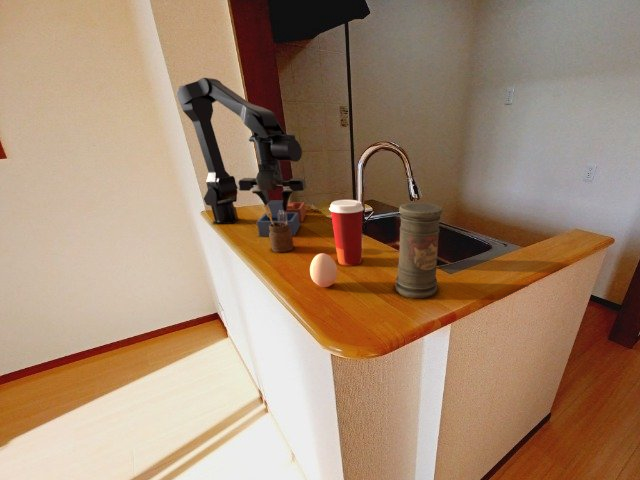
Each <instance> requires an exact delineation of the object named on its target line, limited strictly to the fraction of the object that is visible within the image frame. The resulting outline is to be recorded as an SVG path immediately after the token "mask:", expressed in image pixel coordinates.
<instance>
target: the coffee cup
mask: <svg viewBox="0 0 640 480" xmlns="http://www.w3.org/2000/svg"><path fill="white" fill-rule="evenodd" d="M329 206H330V207H328V210H329V211H330V215H331V223H332V228H333V235H334V243H335V251H336V255H337V257H336V258H337V261H338V264H339V265H341V266H347V267H349V266H350V267H351V266H356V265H359V264H361V262H362V256H363V255H362V251H363V249H362V248H363V211H364V210H365V209H364V206H363V203H362V202H361V201H359V200H356V199H338V200H334V201H332V202H331V204H330V205H329Z"/></svg>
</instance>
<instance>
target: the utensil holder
mask: <svg viewBox="0 0 640 480" xmlns="http://www.w3.org/2000/svg"><path fill="white" fill-rule="evenodd" d="M265 206H266V205H264V204H263V208H264V211H265V213H266V214H267V216H268V217H269V218H270V219H271V222H272V224H270V225H269V230H270V233H269V236H268V237H269V242H270V247H271V249H272V251H273V252H274V253H288V252H290V251H292V250H293V249H294V239H293V236H292V233H291V231H290V230H289V228H290V227H289V224H288V223H287V222H286V223H285V222H280V221H278V222H277V223H273V221H272V218H271V217H272V214H271V211H270V209H269V206H268V204H267V206H266V207H265ZM267 207H268V208H267ZM269 212H270V213H269ZM278 214H279V213H278ZM280 214H281V213H280ZM285 214H286V213H285Z"/></svg>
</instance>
